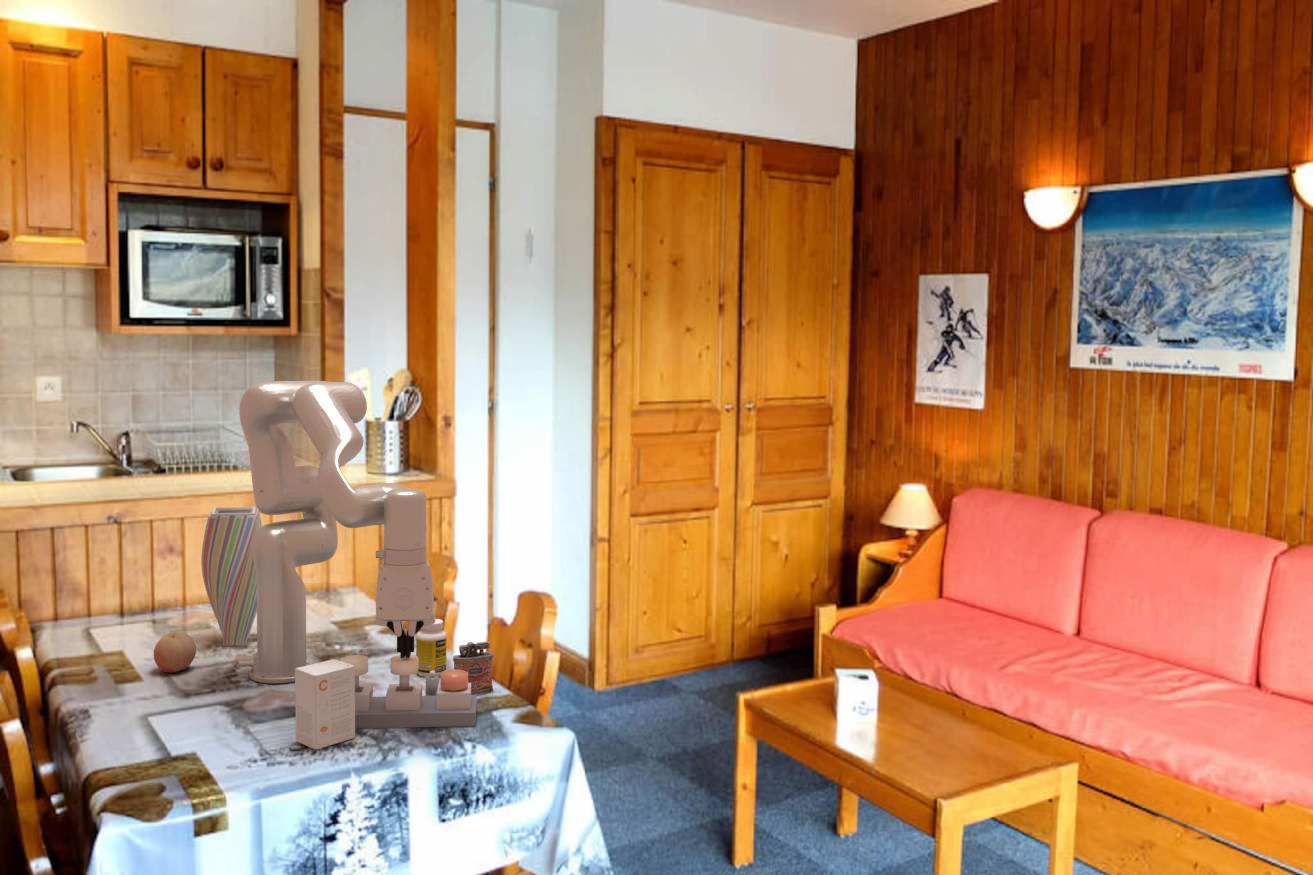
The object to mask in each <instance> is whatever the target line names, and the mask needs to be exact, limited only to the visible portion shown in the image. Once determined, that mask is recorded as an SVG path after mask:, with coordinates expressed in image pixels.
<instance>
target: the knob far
mask: <svg viewBox="0 0 1313 875" xmlns="http://www.w3.org/2000/svg"><path fill="white" fill-rule="evenodd" d="M439 683H440V687H441V688H442V689H444V690H449V691H459V690H462V689H465V688H467V687H468V672H467V671H464V670H454V669H446V671H443V672H441V675H440V679H439Z"/></svg>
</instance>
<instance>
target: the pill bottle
mask: <svg viewBox="0 0 1313 875" xmlns="http://www.w3.org/2000/svg"><path fill="white" fill-rule="evenodd" d="M435 619H436V620H435V623H434V624H431V625H427V626H423V627H422V628H421V629H420V630H418V631H417V632H416V633H417V634H416V636H415V637H416V639H415V643H416V644H415V645H416V646H415V648H416V649H415V652H416V653H415V656H417V657H418V672H417V673H416V674H417V676H420V677H425V678H426V677H427V676H430V671H432V670H434V671H435V675H436V676H439V677H441V672H443V671H446V670H447V642H448V641H447V640H448V639H447V632H445V631H444V630H443V628H444V621H443V620H442V619H440V618H435Z"/></svg>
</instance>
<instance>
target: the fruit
mask: <svg viewBox="0 0 1313 875" xmlns="http://www.w3.org/2000/svg"><path fill="white" fill-rule="evenodd" d="M196 645H197V644H196V642H195V641H194V638H193V637H192V636H191V635H189V634H188V633H186V632H185V631H182V630H174V631H170V632H168V633H166V634H164V635H163V636H162V637H161V638H160V639H159V640H158V641H157V643H156V644H155V646H154V649H153V660H154V662H155V664H156V665H157V667H158V668H159V669H160V670H161V671H163V672H164V673H170V674H172V673H177V672H181V671H184V670H186V669H187V668H188V667H190V665H191V664H192V663H193V661H194V659H195V657H196V654H197V646H196Z"/></svg>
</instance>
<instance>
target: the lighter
mask: <svg viewBox="0 0 1313 875" xmlns="http://www.w3.org/2000/svg"><path fill="white" fill-rule="evenodd" d="M490 648H491V643H490V642H489V641H481V642H480V641H479V642H477V643H475V642H472V641H468V642H467V644H460V645H458V649H459V650H458V651H459V654H456V655H453V657H452V662H453V670H464V671H467V672H468V683H471V695H477V696H478V695H483V694H489V693H492V692H493V691H494V687H493V659H494V652H491V651H485V650H489V649H490ZM478 651H479V652H478Z"/></svg>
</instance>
